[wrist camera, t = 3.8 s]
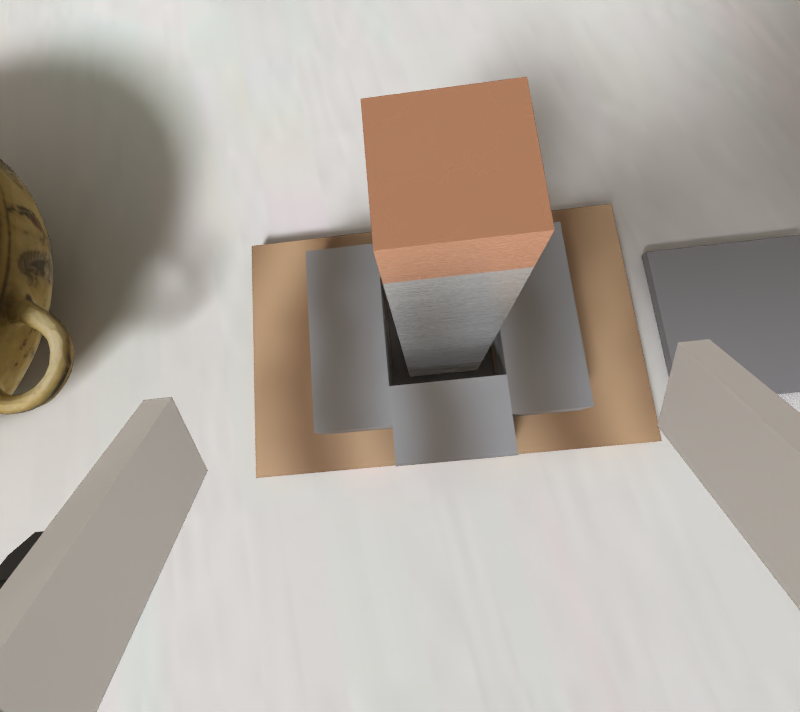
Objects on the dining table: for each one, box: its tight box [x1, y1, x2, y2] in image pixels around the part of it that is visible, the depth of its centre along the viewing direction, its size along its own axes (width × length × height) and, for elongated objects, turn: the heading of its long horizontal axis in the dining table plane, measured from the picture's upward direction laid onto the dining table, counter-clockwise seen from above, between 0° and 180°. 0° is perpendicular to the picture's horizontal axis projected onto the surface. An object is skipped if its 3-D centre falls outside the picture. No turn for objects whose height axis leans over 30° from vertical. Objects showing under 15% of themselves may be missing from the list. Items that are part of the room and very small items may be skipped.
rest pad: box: [642, 235, 800, 394], centre depth 26 cm, size 9×9×1 cm
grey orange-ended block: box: [361, 77, 555, 377], centre depth 19 cm, size 4×4×17 cm
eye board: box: [252, 204, 662, 478], centre depth 25 cm, size 22×14×4 cm, turn 95°
